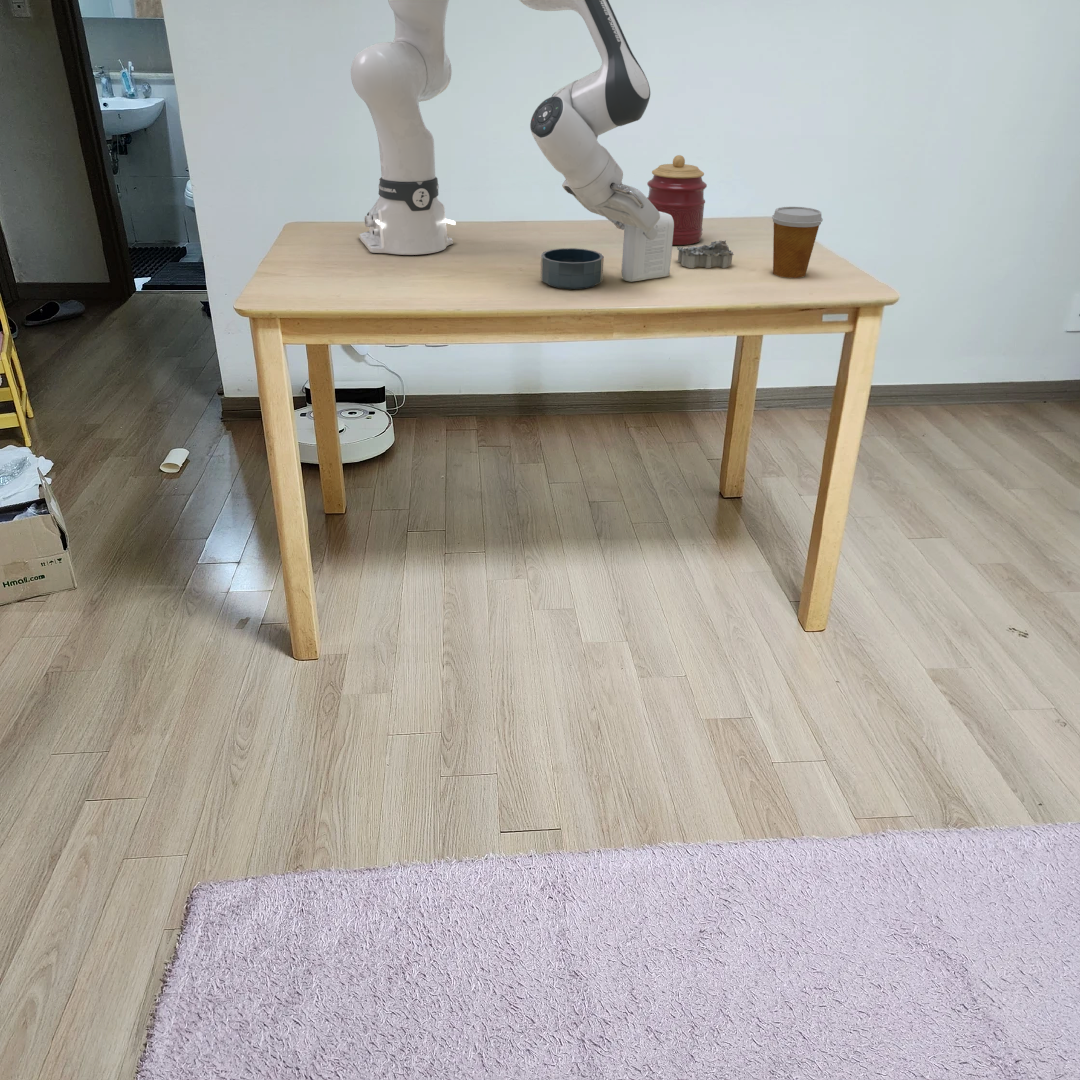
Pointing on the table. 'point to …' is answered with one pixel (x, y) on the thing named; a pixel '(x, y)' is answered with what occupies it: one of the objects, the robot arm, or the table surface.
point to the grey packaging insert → (706, 255)
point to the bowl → (572, 268)
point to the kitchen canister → (680, 198)
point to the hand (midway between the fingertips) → (638, 231)
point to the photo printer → (647, 251)
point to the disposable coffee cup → (794, 239)
